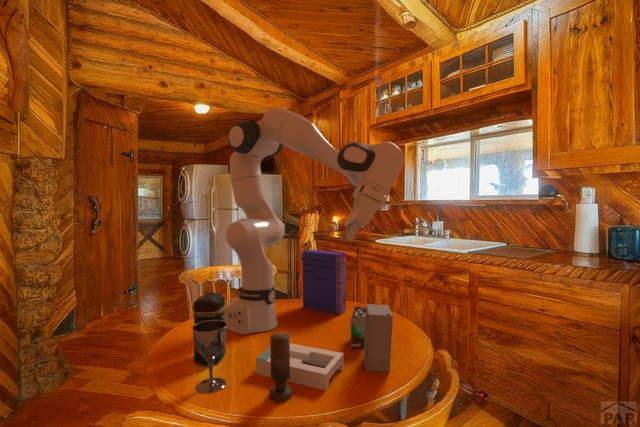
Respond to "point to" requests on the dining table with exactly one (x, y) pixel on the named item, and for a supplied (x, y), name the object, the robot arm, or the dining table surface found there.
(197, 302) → the coffee jar
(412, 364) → the dining table surface
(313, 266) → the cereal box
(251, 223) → the robot arm
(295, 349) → the keyhole plate
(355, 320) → the food container
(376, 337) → the skincare box
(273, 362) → the knob post
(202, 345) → the wine glass
